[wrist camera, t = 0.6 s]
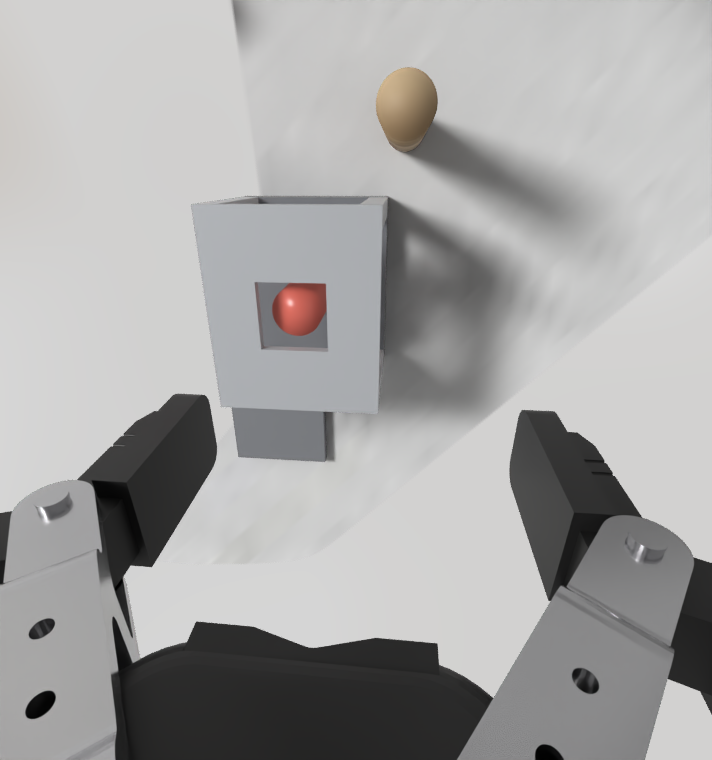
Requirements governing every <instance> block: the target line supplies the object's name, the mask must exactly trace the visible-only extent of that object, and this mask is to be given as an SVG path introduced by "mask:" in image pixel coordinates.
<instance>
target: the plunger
mask: <svg viewBox="0 0 712 760" xmlns="http://www.w3.org/2000/svg"><path fill="white" fill-rule="evenodd" d="M326 311H327V302H326V284H325V283H289V284H288V285H287V286H286V287H285V288H284V289H283V290H281V291H280V292H279V293H278V294H277V296H276V297H275V299H274V301H273V305H272V314H273V318H274V320H275V322H276V324H277V325H278V326H279V327H280V328H281V329H282V330H283V331H285V332H286V333H288V334H291V335H295V336H303V335H307V334H309V333H311V332H313V331H314V330H315V329H316V328H317V327H318V325H319V324H320V322H321V320H322V318H323V316H324V315H325V313H326Z"/></svg>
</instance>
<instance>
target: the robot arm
mask: <svg viewBox="0 0 712 760" xmlns="http://www.w3.org/2000/svg"><path fill="white" fill-rule="evenodd" d="M216 455H217V444H216V438H215V433H214V426H213V421H212V415H211V409H210V404H209V400H208V398H207V397H206V396H205V395H193V394H175V395H173V396H172V397H171V398H170V399H169V400H168V401H167V402H166V403H165V404H164V405H163V406H162V407H161V408H160V409H159V411H154V412H152V413H150V414H149V415H147V416H145V417H143V418H141V419H140V420H138V421H136V422H135V423H134V424H133V425H132V426H131V427H130V428H129V429H128V430H127V431H126V432H125V433H124V436H121V437H120V438H119V439H118V440H117V441H116V442H115V443H114V444H113V447H110V448H109V449H108V450H107V451H106V452H105V453H104V454H103V455H102V456H101V457H100V458H99V459H98V460H97V461H96V462H95V463H94V464H93V465H92V466H91V467H90V468H89V469H88V470H87V471H86V472H85V473H84V474H83V475H82V476H80V477H79V478H78V479H77V480H68V481H62V482H58V483H54V484H50V485H48V486H45V487H43V488H40V489H38V490H37V491H35V492H33V493H31V494H30V495H28V496H27V497H25V498H24V499H23V500H22V501H20V502H19V503H18V504H17V506H16V507H15V508H14V510H13V511H11V512H5V513H0V760H645V757H646V753H647V750H648V746H649V743H650V739H651V736H652V732H653V728H654V725H655V721H656V718H657V714H658V711H659V707H660V704H661V700H662V697H663V693H664V689H665V686H666V682H667V679H670V680H672V681H675V682H678V683H680V684H683V685H685V686H688V687H690V688H693V689H696V690H698V691H700V692H701V694H702V696H703V698H704V700H705V702H706V704H707V706H708V708H709V710H710V712H711V714H712V563H709V562H706V561H703V560H700V559H697V558H694V557H693V555H692V553H691V551H690V549H689V548H688V546H687V545H686V544H685V543H684V542H683V541H682V540H681V539H680V538H679V537H678V536H677V535H676V534H674V533H673V532H671V531H670V530H668V529H667V528H665V527H663V526H661V525H659V524H657V523H655V522H653V521H650V520H648V519H644V518H642V517H641V515H640V514H639V512H638V511H637V509H636V508H635V506H634V504H633V503H632V501H631V500H630V498H629V497H628V495H627V494H626V492H625V491H624V489H623V488H622V486H621V485H620V483H619V482H618V481H617V479H616V477H615V476H613V475H612V474H613V473H612V471H611V470H610V468H609V467H608V465H607V464H606V463H604V459H603V457H602V456H601V454H600V453H599V451H598V450H597V448H596V447H595V446H594V445H593V444H592V443H590V442H589V441H588V440H586V439H585V438H584V437H582V436H581V435H580V434H578V433H574V432H567V430H566V429H565V427H564V425H563V424H562V422H561V420H560V419H559V417H558V416H557V414H556V413H555V412H553V411H533V410H522V411H521V413H520V415H519V418H518V423H517V428H516V433H515V439H514V444H513V449H512V454H511V460H510V483H511V487H512V490H513V493H514V496H515V499H516V503H517V505H518V509H519V512H520V515H521V518H522V521H523V524H524V527H525V530H526V533H527V536H528V539H529V543H530V545H531V548H532V552H533V555H534V558H535V561H536V564H537V567H538V570H539V573H540V576H541V579H542V582H543V585H544V589H545V592H546V595H547V597H548V600H549V601H551V602H550V603H549V605H548V607H547V609H546V610H545V612H544V613H543V615H542V617H541V619H540V621H539V622H538V624H537V625H536V627H535V629H534V631H533V632H532V634H531V635H530V637H529V639H528V641H527V642H526V644H525V646H524V647H523V649H522V651H521V652H520V654H519V656H518V658H517V659H516V661H515V663H514V664H513V666H512V668H511V669H510V671H509V673H508V675H507V676H506V678H505V679H504V681H503V683H502V685H501V686H500V688H499V690H498V691H497V693H496V695H495V696H494V698H492V697H491V696H490V695H489V694H488V693H486V692H485V691H484V690H483V689H482V688H480V687H479V686H478V685H476V684H474V683H473V682H471V681H470V680H468V679H467V678H465V677H464V676H462V675H460V674H458V673H456V672H454V671H452V670H450V669H448V668H445V667H443V666H440V665H439V660H438V646H437V644H436V643H425V642H414V641H403V640H392V639H381V638H373V639H367V640H361V641H355V642H349V643H343V644H337V645H331V646H325V647H319V648H308V647H305V646H302V645H300V644H297V643H294V642H292V641H289V640H286V639H284V638H281V637H279V636H276V635H273V634H271V633H268V632H266V631H263V630H260V629H258V628H255V627H250V626H239V625H228V624H217V623H206V622H196V623H195V626H194V628H193V630H192V632H191V635H190V637H189V639H188V641H187V642H186V643H181V644H177V645H174V646H170V647H167V648H164V649H161V650H159V651H156V652H154V653H151V654H149V655H147V656H145V657H144V658H141V659H140V654H139V650H138V644H137V640H136V633H135V628H134V622H133V617H132V611H131V606H130V600H129V595H128V590H127V584H126V581H125V578H124V574H125V573H126V571H127V570H128V568H129V567H130V565H133V566H145V567H152V566H153V564H154V563H155V561H156V560H157V558H158V556H159V555H160V553H161V552H162V550H163V548H164V547H165V545H166V543H167V542H168V540H169V538H170V537H171V535H172V534H173V532H174V530H175V529H176V527H177V525H178V524H179V522H180V521H181V519H182V517H183V516H184V514H185V512H186V511H187V509H188V507H189V506H190V504H191V503H192V501H193V499H194V498H195V496H196V494H197V493H198V491H199V490H200V488H201V486H202V485H203V483H204V481H205V480H206V478H207V476H208V475H209V473H210V472H211V470H212V468H213V466H214V464H215V460H216Z"/></svg>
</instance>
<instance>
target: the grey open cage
mask: <svg viewBox="0 0 712 760" xmlns="http://www.w3.org/2000/svg"><path fill="white" fill-rule="evenodd" d="M191 209H192V215H193V222H194V229H195V236H196V242H197V249H198V256H199V262H200V269H201V276H202V281H203V289H204V296H205V303H206V309H207V316H208V323H209V329H210V336H211V343H212V350H213V356H214V362H215V370H216V376H217V383H218V390H219V396H220V403H221V407H235V408H257V409H279V410H301V411H323V412H345V413H367V414H378V410H379V400H380V391H381V381H382V371H383V362H384V338H385V301H386V263H387V225H388V196H245V197H238V198H232V199H224V200H217V201H211V202H204V203H197V204H191ZM289 283H325V284H326V302H327V311H326V313H325V315H324V316H323V318H322V320H321V322H320V324H319V325H318V327H317V328H316V329H315V330H314V331H313V332H311V333H309V334H307V335H303V336H295V335H291V334H288V333H286V332H285V331H283V330H282V329H281V328H280V327H279V326H278V325H277V324H276V322H275V320H274V318H273V314H272V305H273V301H274V299H275V297H276V296H277V294H278V293H279V292H280V291H281V290H283V289H284V288H285V287H286V286H287V285H288V284H289Z"/></svg>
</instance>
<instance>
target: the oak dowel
mask: <svg viewBox="0 0 712 760" xmlns="http://www.w3.org/2000/svg"><path fill="white" fill-rule="evenodd" d="M437 101H438V99H437V92H436V89H435V86H434V84H433V82H432V80H431V79H430V78H429V76H428V75H427V74H425V73H424V72H423V71H421V70H419V69H416V68H409V67H407V68H401V69H398V70H396V71H394V72H393V73H391V74H390V75H389V76H388V77H387V78H386V79H385V80H384V82H383V83H382V85H381V86H380V89H379V91H378V94H377V99H376V111H377V116H378V119H379V122H380V124H381V126H382V128H383V130H384V133H385V135H386V137H387V139H388V141H389V143H390V144H391V146H392V147H393V148H395V149H396V150H398V151H402V152H407V151H411V150H413V149H415V148H416V147H417V146H418V145H419V144H420V142H421V141H422V139H423V137H424V135H425V134H426V132H427V130H428V128H429V126H430V125H431V123H432V121H433V119H434V117H435V114H436V110H437Z"/></svg>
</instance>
